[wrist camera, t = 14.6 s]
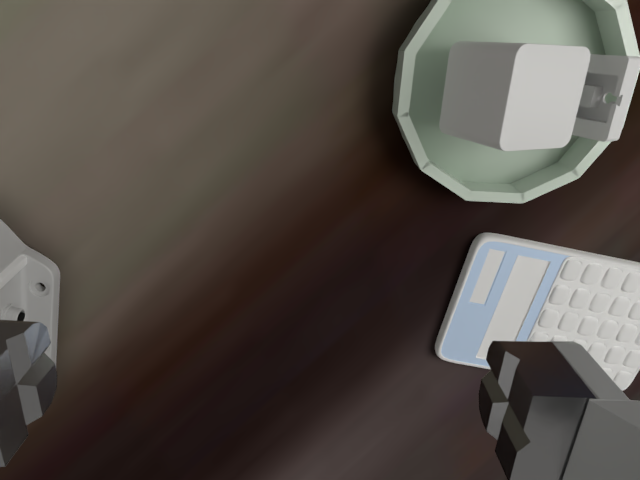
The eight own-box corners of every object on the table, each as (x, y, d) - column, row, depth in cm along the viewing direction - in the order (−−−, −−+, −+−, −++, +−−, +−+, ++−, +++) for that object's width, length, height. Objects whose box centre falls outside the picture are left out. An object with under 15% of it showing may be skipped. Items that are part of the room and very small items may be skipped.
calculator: (617, 384, 49) (628, 397, 47) (429, 350, 47) (433, 362, 45) (681, 269, 44) (697, 279, 42) (474, 226, 42) (481, 235, 40)
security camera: (555, 46, 36) (449, 40, 33) (644, 49, 31) (529, 43, 27) (536, 130, 39) (437, 134, 35) (616, 147, 33) (507, 155, 29)
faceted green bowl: (578, 194, 40) (599, 207, 37) (382, 185, 40) (388, 196, 37) (639, -30, 34) (670, -37, 31) (407, -44, 33) (416, -52, 30)
